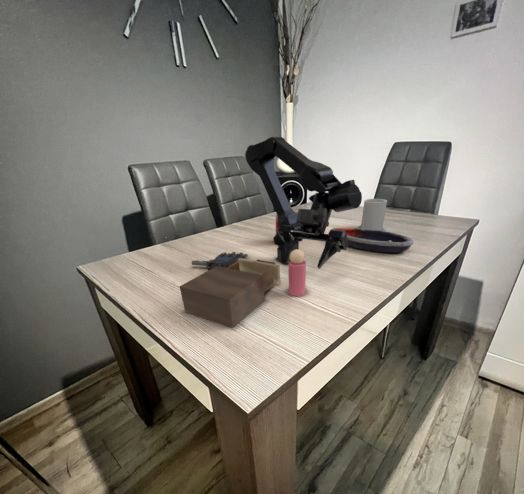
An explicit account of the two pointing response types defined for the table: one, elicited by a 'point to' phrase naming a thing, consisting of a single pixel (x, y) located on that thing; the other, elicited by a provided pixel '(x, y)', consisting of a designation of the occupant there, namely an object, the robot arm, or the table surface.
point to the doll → (297, 273)
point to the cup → (373, 214)
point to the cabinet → (223, 295)
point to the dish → (376, 240)
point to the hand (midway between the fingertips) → (301, 265)
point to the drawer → (259, 270)
